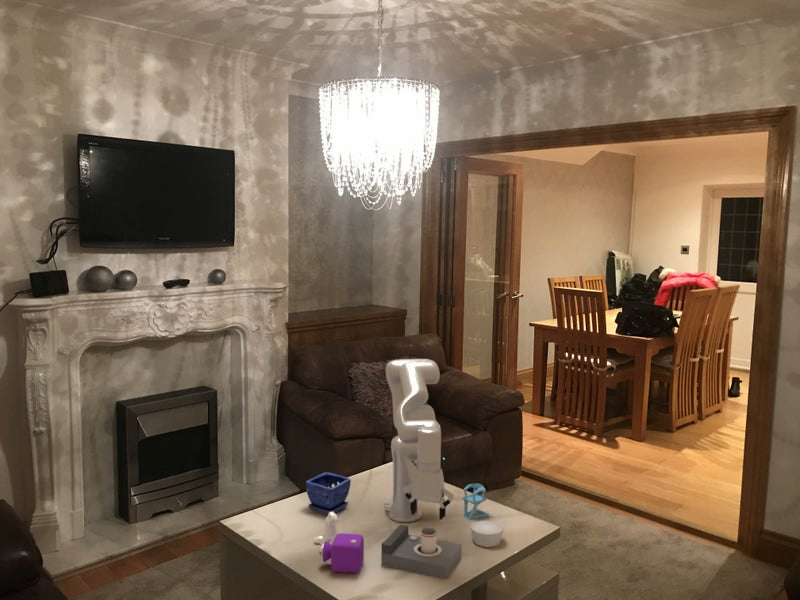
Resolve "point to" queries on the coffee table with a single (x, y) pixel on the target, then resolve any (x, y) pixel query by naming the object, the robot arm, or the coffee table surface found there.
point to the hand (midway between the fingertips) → (427, 515)
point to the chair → (474, 501)
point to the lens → (428, 541)
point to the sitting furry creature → (328, 530)
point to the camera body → (418, 554)
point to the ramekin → (486, 533)
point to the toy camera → (345, 552)
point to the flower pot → (328, 492)
